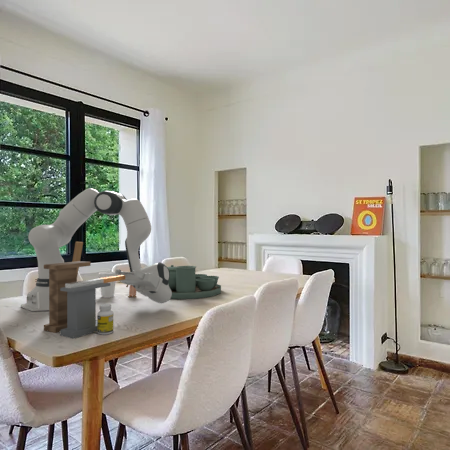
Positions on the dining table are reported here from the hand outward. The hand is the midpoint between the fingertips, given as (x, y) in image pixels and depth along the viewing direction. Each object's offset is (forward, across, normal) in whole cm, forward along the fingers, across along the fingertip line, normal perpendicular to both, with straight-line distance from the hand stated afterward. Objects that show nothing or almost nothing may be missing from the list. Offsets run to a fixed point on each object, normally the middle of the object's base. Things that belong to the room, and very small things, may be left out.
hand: (124, 271), depth 146 cm
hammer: (-38, -76, +1) cm, 85 cm away
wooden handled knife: (+10, 0, +10) cm, 14 cm away
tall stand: (+6, -11, +26) cm, 29 cm away
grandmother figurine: (-42, -32, -2) cm, 53 cm away
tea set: (-63, -14, -13) cm, 66 cm away
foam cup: (-37, -45, +2) cm, 58 cm away
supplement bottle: (+5, +8, +26) cm, 27 cm away
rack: (+6, 0, +26) cm, 27 cm away
